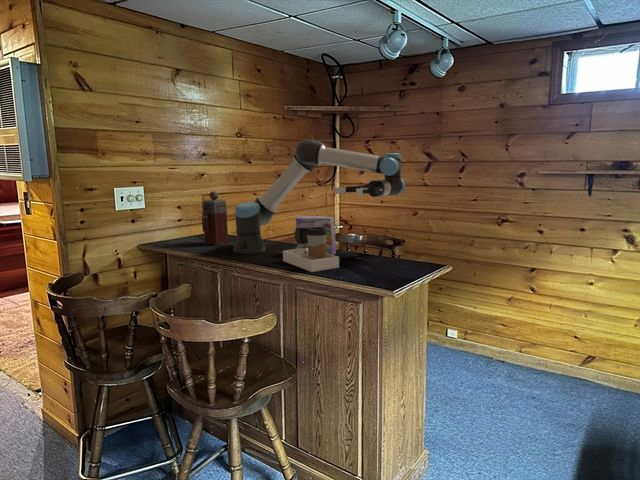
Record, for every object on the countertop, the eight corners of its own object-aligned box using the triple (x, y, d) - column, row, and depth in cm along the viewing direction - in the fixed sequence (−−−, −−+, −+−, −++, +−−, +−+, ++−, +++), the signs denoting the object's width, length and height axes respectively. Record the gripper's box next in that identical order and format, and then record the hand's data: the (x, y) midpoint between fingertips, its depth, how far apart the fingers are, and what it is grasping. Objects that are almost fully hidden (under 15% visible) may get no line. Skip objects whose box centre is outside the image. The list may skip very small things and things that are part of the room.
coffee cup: (318, 261, 204) (317, 226, 201) (331, 264, 198) (330, 228, 195) (303, 264, 199) (302, 228, 196) (315, 267, 193) (315, 230, 190)
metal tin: (292, 259, 210) (292, 247, 209) (306, 257, 213) (305, 246, 212) (300, 261, 204) (299, 250, 203) (314, 259, 207) (313, 248, 206)
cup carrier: (283, 260, 211) (282, 250, 210) (308, 257, 217) (308, 247, 217) (311, 272, 190) (311, 260, 189) (339, 267, 196) (339, 256, 195)
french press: (201, 245, 253) (197, 192, 248) (216, 241, 263) (213, 190, 258) (214, 246, 249) (210, 192, 244) (228, 242, 258) (225, 190, 253)
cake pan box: (294, 253, 226) (293, 216, 223) (299, 251, 231) (298, 215, 228) (332, 256, 218) (331, 217, 215) (336, 254, 223) (335, 216, 220)
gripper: (400, 198, 210) (366, 201, 196) (359, 195, 228) (326, 198, 215) (400, 180, 208) (366, 183, 195) (358, 179, 227) (325, 181, 213)
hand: (345, 191), depth 205 cm, fingers open, 13 cm apart
